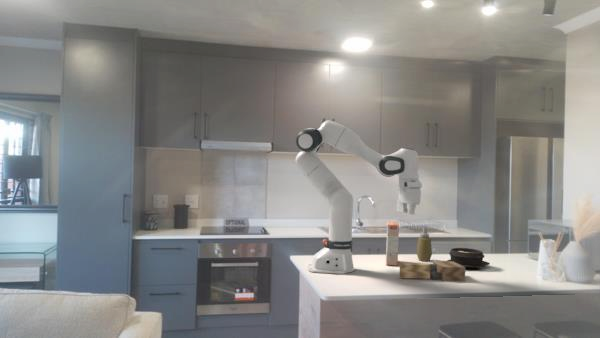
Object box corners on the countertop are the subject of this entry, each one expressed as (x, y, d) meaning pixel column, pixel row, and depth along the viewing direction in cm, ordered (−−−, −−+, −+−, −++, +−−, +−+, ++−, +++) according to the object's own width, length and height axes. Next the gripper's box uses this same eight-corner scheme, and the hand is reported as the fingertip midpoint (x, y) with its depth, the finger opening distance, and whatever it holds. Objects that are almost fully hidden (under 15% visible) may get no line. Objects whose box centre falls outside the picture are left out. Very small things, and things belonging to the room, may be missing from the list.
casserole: (461, 272, 198) (461, 255, 198) (434, 264, 215) (434, 248, 215) (499, 269, 207) (499, 252, 208) (470, 261, 224) (470, 246, 225)
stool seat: (432, 280, 181) (432, 266, 181) (423, 273, 193) (423, 261, 193) (465, 280, 181) (465, 267, 181) (453, 274, 193) (453, 261, 193)
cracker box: (398, 266, 208) (399, 225, 208) (386, 265, 209) (386, 224, 209) (397, 260, 221) (398, 222, 222) (386, 260, 223) (386, 221, 223)
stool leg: (435, 277, 185) (435, 263, 185) (437, 278, 183) (437, 264, 183) (399, 276, 184) (399, 263, 184) (401, 278, 182) (401, 264, 182)
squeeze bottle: (429, 262, 219) (430, 228, 219) (414, 260, 223) (415, 227, 223) (433, 260, 225) (434, 227, 226) (418, 258, 230) (419, 226, 230)
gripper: (395, 182, 199) (395, 211, 199) (409, 183, 179) (409, 215, 179) (408, 182, 200) (407, 211, 199) (423, 183, 179) (423, 215, 179)
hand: (408, 213), depth 189 cm, fingers open, 8 cm apart
